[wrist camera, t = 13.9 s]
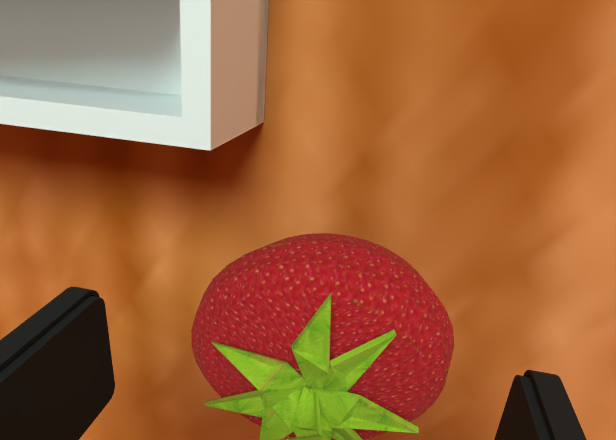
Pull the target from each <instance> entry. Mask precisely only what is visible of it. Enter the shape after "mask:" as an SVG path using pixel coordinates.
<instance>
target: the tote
mask: <svg viewBox="0 0 616 440" xmlns="http://www.w3.org/2000/svg"><path fill="white" fill-rule="evenodd" d="M268 10H269V0H0V124H7V125H14V126H22V127H30V128H38V129H46V130H53V131H61V132H69V133H77V134H85V135H92V136H100V137H108V138H116V139H124V140H132V141H139V142H147V143H155V144H163V145H171V146H178V147H186V148H194V149H202V150H210V151H211V150H213V149H215V148H216V147H218V146H220V145H222V144H224V143H226V142H228V141H230V140H231V139H233V138H235V137H237V136H239V135H241V134H243V133H244V132H246V131H248V130H250V129H252V128H254V127H256V126H258V125H259V124H261V123H263V122H264V105H265V81H266V58H267V34H268Z"/></svg>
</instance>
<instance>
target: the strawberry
mask: <svg viewBox="0 0 616 440" xmlns="http://www.w3.org/2000/svg"><path fill="white" fill-rule="evenodd" d="M192 349H193V352H194V356H195V359H196V362H197V364H198V366H199V368H200V370H201V371H202V373H203V375H204V377H205V378H206V379H207V381H208V382H209V383H210V384H211V386H212V387H213V388H214V389H215V391H216V392H217V393H218V394H219V395H220V396H221V398H220V399H216V400H212V401H207V402H206V403H205V404H204V405H205V406H210V407H215V408H219V409H224V410H229V411H234V412H238V413H239V414H241V415H243V416H244V417H246V418H247V419H249V420H251V421H252V422H254V423H256V424H258V425H260V426H261V431H260V437H259V440H281V439H282V438H284V437H286V436H290V437H294V438H289V439H286V440H363V439H365V438H370V437H374V436H376V435H379V434H382V433H384V432H387V431H394V432H408V433H419V427H417V426H416V425H414V424H412V423H410V421H412V420H413V419H415V418H417V417H418V416H420V415H422V414H423V413H424V412H425V411H426V410H427V409H428V408H429V407H430V406H431V405H432V404H433V403H434V402H435V401H436V400H437V398H438V396H439V395H440V393H441V391H442V389H443V388H444V386H445V382H446V378H447V374H448V370H449V366H450V361H451V357H452V353H453V349H454V337H453V327H452V324H451V322H450V319H449V316H448V314H447V311H446V309H445V307H444V306H443V305H442V303H441V302H440V300H439V299H438V298H437V296H436V295H435V293H434V292H433V291H432V289H431V288H430V287H429V286H428V284H427V283H426V282H425V281H424V279H423V278H422V277H421V276H420V274H419V273H418V272H417V271H416V270H415V269H414V268H413V267H412V266H411V265H410V264H409V263H407V262H406V261H405V260H404V259H403V258H401V257H400V256H398V255H396V254H395V253H393V252H391V251H390V250H388V249H387V248H384V247H382V246H379V245H377V244H374V243H372V242H369V241H367V240H363V239H359V238H355V237H351V236H347V235H337V234H328V233H323V234H305V235H299V236H294V237H289V238H285V239H283V240H280V241H277V242H275V243H272V244H269V245H267V246H265V247H262V248H260V249H257V250H255V251H253V252H250V253H248V254H246V255H243V256H242V257H240V258H239V259H237V260H235V261H234V262H232V263H230V264H229V265H227V266H226V267H225V268H224V269H223V270H222V271H221V272H220V273H219V274H218V275H217V276H215V277H214V278H213V280H212V281H211V283H210V285H209V286H208V288H207V289H206V291H205V293H204V295H203V297H202V300H201V303H200V305H199V308H198V310H197V313H196V316H195V320H194V323H193V327H192Z"/></svg>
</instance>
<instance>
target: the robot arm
mask: <svg viewBox="0 0 616 440" xmlns="http://www.w3.org/2000/svg"><path fill="white" fill-rule="evenodd" d="M114 389H115V382H114V374H113V366H112V358H111V350H110V342H109V334H108V326H107V318H106V310H105V303H104V300H103V299H102V298H100V297H99V294H98V293H97V292H96V291H94V290H89V289H84V288H78V287H70V288H68V289H66V290H65V291H63V292H62V293H61V294H60V295H58V296H57V297H56V298H54V299H53V300H52V301H51V302H49V303H48V304H47V305H45V306H44V307H43V308H41V309H40V310H39V311H38V312H36V313H35V314H34V315H32V316H31V317H30V318H29V319H27V320H26V321H25V322H23V323H22V324H21V325H19V326H18V327H17V328H16V329H14V330H13V331H12V332H10V333H9V334H8V335H7V336H5V337H4V338H3V339H1V340H0V440H79V439H80V437H81V436H82V435H83V434H84V432H85V431H86V430H87V429H88V427H89V426H90V425H91V424H92V422H93V421H94V420H95V419H96V417H97V416H98V415H99V414H100V412H101V411H102V410H103V409H104V407H105V406H106V405H107V404H108V402H109V401H110V399H111V398H112V395H113V393H114ZM494 440H586V438H585V435H584V433H583V430H582V428H581V426H580V423H579V421H578V419H577V416H576V414H575V412H574V409H573V407H572V405H571V402H570V400H569V398H568V395H567V393H566V391H565V388H564V386H563V383H562V381H561V379H560V378H559V376H557V375H554V374H549V373H543V372H538V371H533V370H527V371H526V372H525V373H524V376H520V375H516V376H515V378H514V380H513V383H512V386H511V389H510V392H509V396H508V399H507V402H506V405H505V408H504V411H503V414H502V417H501V421H500V424H499V427H498V430H497V433H496V436H495V439H494Z"/></svg>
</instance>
